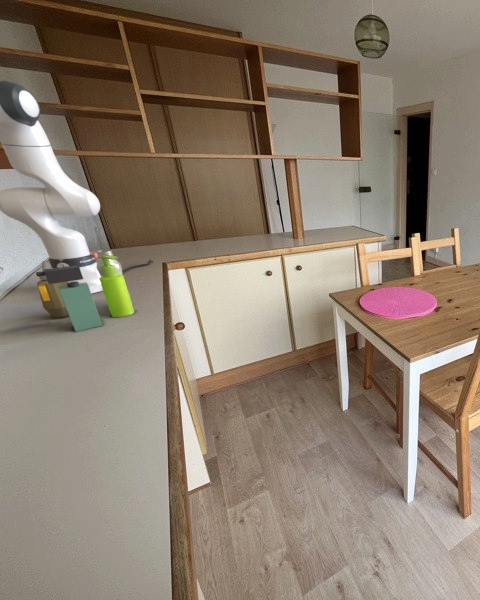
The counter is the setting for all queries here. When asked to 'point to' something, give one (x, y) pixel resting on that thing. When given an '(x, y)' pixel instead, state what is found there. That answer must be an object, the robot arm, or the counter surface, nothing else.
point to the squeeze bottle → (53, 295)
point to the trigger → (44, 292)
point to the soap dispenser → (115, 289)
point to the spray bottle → (74, 296)
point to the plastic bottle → (113, 262)
